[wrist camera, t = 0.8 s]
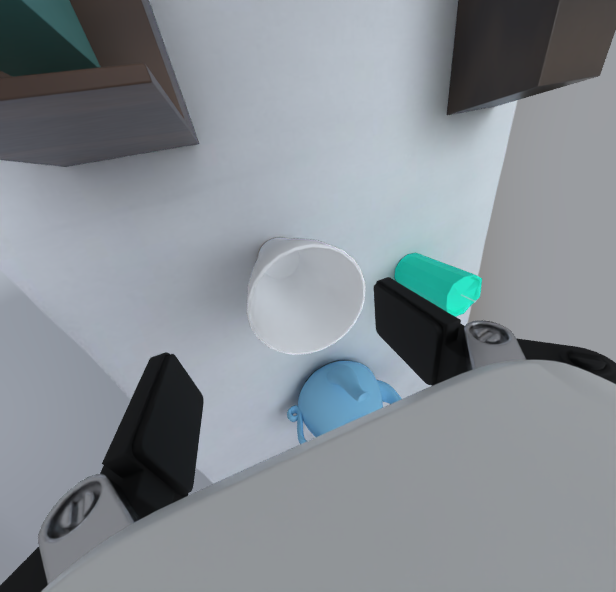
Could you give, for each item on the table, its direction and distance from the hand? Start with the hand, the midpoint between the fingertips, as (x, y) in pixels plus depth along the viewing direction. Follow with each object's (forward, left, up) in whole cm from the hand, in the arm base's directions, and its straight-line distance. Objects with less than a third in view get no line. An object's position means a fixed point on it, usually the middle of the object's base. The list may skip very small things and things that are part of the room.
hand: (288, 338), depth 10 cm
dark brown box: (-16, +32, -21) cm, 42 cm away
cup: (+3, +3, -21) cm, 22 cm away
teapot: (+32, +8, -21) cm, 39 cm away
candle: (+11, +24, -21) cm, 34 cm away
